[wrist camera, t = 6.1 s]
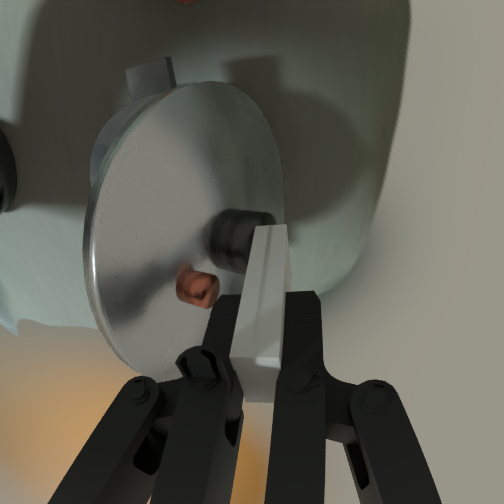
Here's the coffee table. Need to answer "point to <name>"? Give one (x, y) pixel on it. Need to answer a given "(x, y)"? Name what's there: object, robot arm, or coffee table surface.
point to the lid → (177, 220)
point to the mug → (187, 2)
